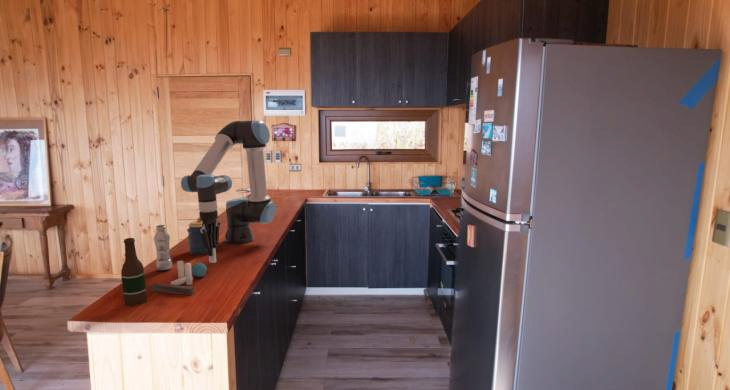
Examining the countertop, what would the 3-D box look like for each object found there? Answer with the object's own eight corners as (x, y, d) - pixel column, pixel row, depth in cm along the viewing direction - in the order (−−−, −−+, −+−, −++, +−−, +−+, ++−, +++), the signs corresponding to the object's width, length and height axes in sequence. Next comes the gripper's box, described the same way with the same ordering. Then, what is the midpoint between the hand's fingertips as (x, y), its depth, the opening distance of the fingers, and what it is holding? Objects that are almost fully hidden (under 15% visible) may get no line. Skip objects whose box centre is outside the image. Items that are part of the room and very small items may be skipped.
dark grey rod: (154, 289, 174) (153, 283, 174) (194, 293, 170) (193, 286, 169) (150, 291, 172) (150, 285, 172) (191, 295, 168) (190, 288, 168)
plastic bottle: (155, 272, 193) (151, 228, 190) (158, 267, 200) (154, 224, 196) (171, 271, 195) (167, 227, 192) (173, 266, 201) (169, 223, 198)
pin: (188, 282, 181) (186, 262, 179) (193, 283, 180) (192, 263, 179) (184, 284, 179) (183, 264, 177) (190, 285, 178) (188, 265, 177)
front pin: (188, 276, 184) (169, 282, 177) (191, 274, 183) (172, 280, 176) (191, 281, 184) (172, 288, 177) (193, 279, 182) (174, 285, 176)
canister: (207, 255, 216) (204, 220, 213) (183, 254, 219) (180, 219, 216) (220, 248, 229) (218, 214, 226) (198, 247, 232) (195, 214, 229)
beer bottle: (151, 297, 166) (145, 235, 162) (141, 306, 159) (134, 241, 155) (130, 298, 166) (123, 236, 162) (119, 306, 158) (112, 242, 154)
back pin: (181, 280, 184) (179, 260, 183) (186, 280, 183) (184, 260, 182) (177, 282, 182) (175, 262, 180) (182, 282, 181) (180, 262, 180)
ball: (186, 273, 184) (194, 278, 189) (199, 274, 182) (206, 279, 187) (191, 260, 187) (198, 265, 192) (204, 261, 185) (211, 266, 190)
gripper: (209, 206, 199) (213, 256, 204) (191, 213, 187) (196, 266, 191) (224, 207, 198) (228, 258, 202) (207, 214, 185) (211, 267, 190)
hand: (212, 262), depth 197 cm, fingers closed
